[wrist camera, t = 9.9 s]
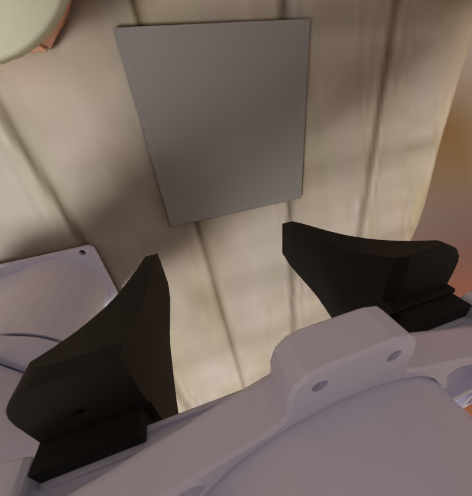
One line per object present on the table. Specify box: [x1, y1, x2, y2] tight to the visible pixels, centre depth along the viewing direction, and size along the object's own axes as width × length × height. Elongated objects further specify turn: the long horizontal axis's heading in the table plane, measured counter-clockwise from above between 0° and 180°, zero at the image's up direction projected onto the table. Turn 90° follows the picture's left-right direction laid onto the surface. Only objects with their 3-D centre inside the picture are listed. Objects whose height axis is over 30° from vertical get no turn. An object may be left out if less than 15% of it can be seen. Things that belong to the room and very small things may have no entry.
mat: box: [113, 19, 310, 227], centre depth 19 cm, size 14×14×1 cm
